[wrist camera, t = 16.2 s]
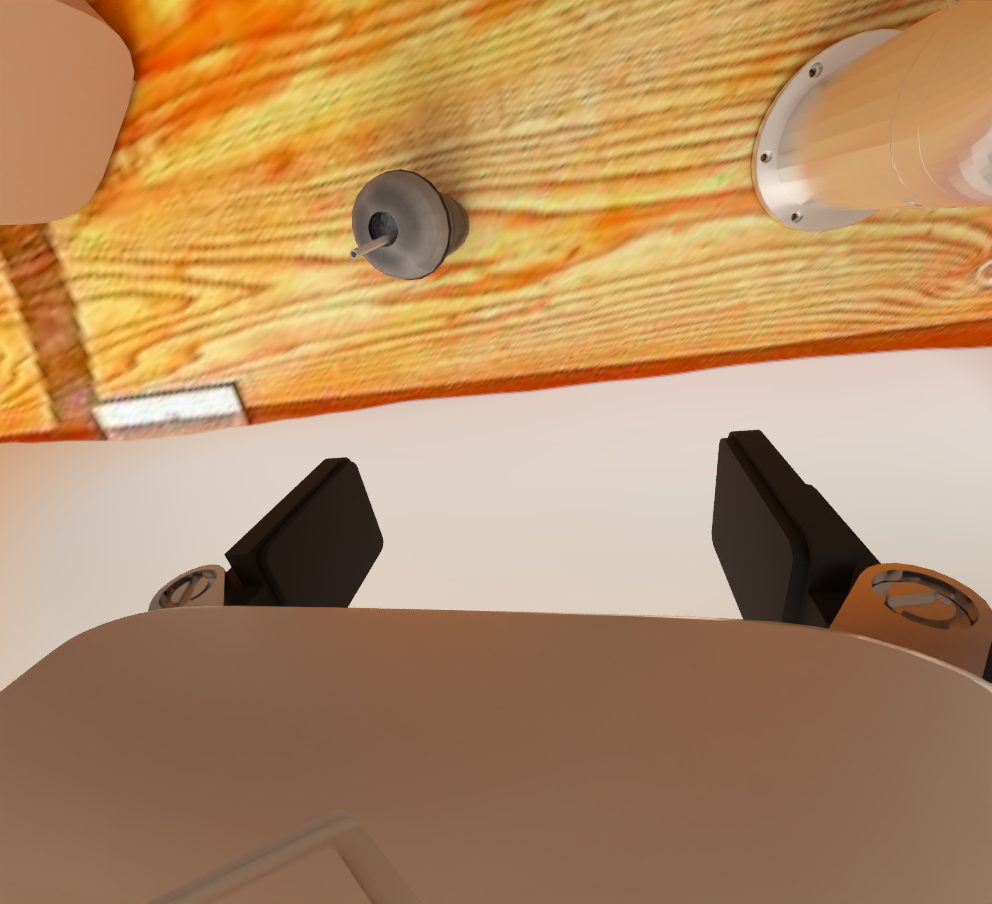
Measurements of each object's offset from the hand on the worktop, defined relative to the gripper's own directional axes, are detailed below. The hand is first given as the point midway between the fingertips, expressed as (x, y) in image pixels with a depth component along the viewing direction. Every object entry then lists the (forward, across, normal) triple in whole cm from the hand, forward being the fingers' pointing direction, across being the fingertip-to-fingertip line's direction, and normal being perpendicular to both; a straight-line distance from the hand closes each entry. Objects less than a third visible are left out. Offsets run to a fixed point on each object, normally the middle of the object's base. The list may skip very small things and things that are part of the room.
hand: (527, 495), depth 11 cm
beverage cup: (+37, +11, -8) cm, 39 cm away
